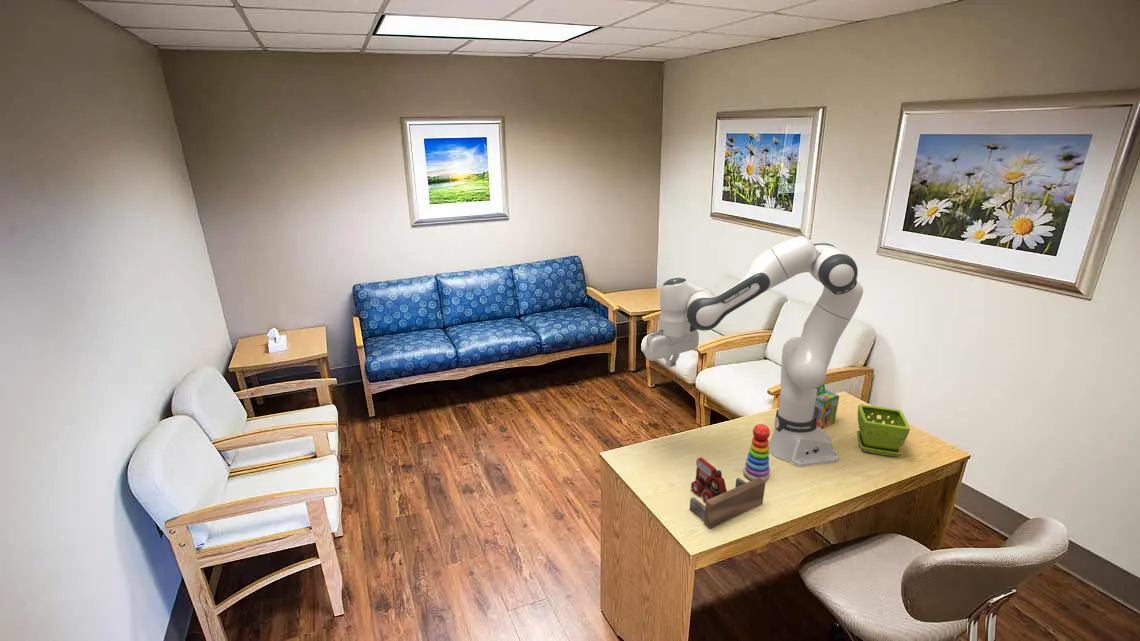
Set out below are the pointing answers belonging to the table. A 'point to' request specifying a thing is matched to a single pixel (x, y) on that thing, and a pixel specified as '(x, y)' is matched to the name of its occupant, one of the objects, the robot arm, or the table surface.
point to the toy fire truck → (708, 480)
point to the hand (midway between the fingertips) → (671, 366)
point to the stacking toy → (758, 454)
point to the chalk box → (825, 406)
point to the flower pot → (881, 430)
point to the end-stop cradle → (730, 502)
